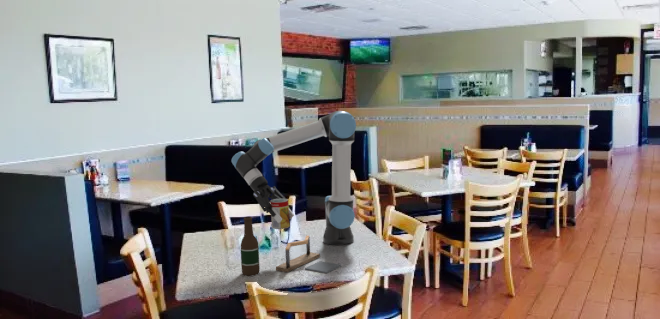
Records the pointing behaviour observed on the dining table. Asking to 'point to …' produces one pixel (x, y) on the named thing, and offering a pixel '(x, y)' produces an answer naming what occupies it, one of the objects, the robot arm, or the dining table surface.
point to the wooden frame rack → (299, 260)
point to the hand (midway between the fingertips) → (286, 219)
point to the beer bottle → (249, 250)
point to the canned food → (280, 213)
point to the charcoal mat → (323, 267)
